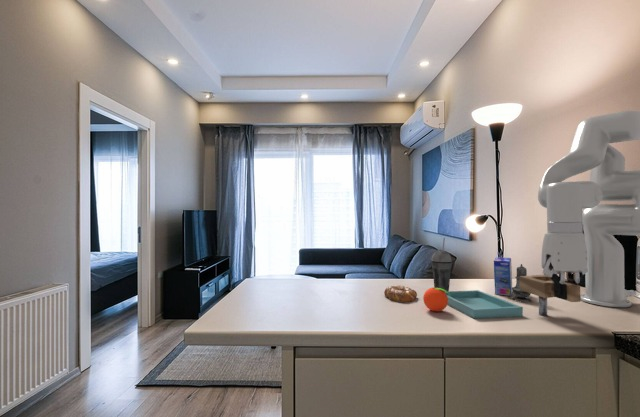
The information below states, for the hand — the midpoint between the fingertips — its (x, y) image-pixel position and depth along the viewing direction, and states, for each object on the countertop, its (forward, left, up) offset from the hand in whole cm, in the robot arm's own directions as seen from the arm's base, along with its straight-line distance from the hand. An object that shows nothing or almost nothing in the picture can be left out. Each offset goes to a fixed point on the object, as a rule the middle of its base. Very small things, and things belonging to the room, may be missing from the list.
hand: (565, 296), depth 87 cm
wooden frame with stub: (0, -4, 0) cm, 4 cm away
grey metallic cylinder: (+1, -7, -7) cm, 10 cm away
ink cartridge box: (-6, -32, -7) cm, 33 cm away
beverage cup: (+17, -34, -7) cm, 38 cm away
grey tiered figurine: (-5, -22, -7) cm, 23 cm away
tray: (+15, -17, -7) cm, 23 cm away
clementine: (+29, -15, -7) cm, 33 cm away
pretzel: (+33, -31, -7) cm, 46 cm away
